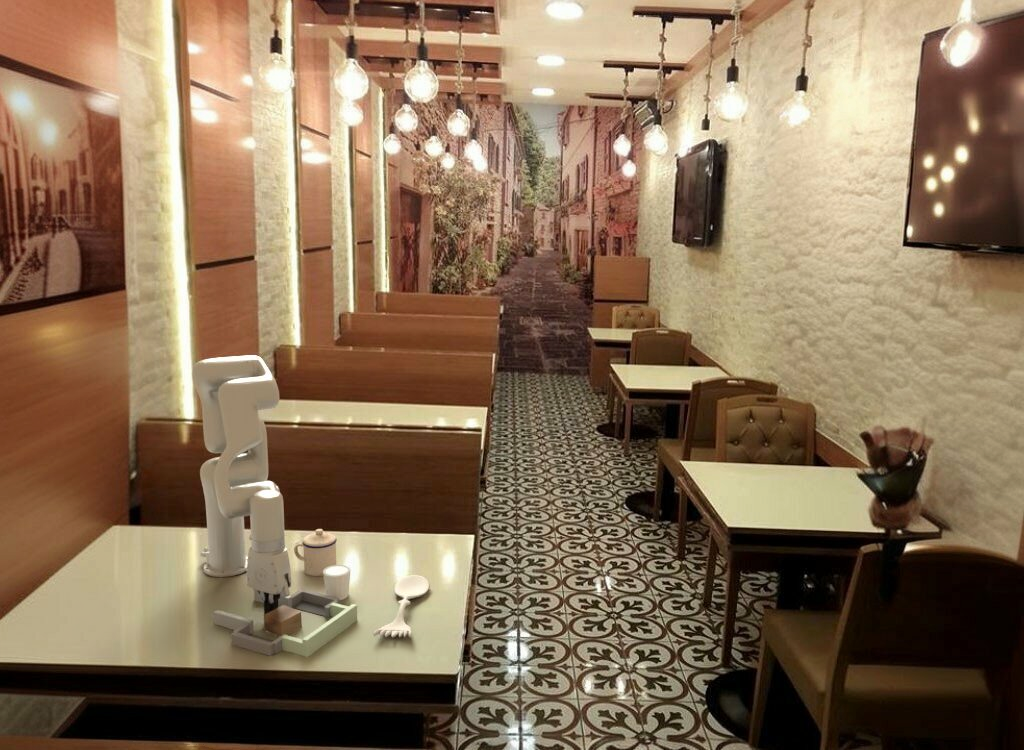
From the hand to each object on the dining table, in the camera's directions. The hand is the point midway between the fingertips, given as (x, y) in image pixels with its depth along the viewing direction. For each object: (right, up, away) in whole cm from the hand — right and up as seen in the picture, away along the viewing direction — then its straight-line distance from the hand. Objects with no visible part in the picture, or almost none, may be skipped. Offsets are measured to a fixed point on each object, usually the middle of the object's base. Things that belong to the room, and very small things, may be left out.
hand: (271, 615), depth 187 cm
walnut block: (+4, -2, -3) cm, 5 cm away
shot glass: (+13, +1, +14) cm, 19 cm away
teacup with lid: (+3, +4, +29) cm, 29 cm away
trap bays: (+4, -2, -2) cm, 5 cm away
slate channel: (+3, -2, -1) cm, 3 cm away
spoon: (+31, -1, +6) cm, 32 cm away
